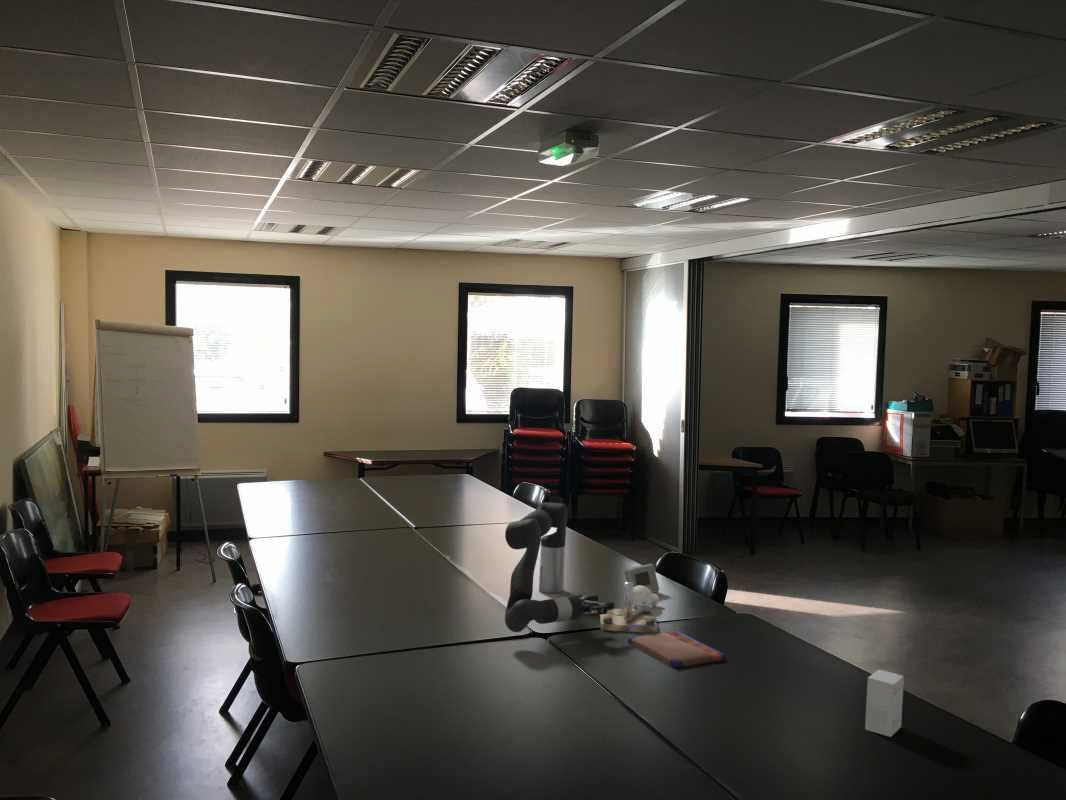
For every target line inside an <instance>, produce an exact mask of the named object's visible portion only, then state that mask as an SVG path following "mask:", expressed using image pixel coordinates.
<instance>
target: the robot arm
mask: <svg viewBox="0 0 1066 800" xmlns="http://www.w3.org/2000/svg"><path fill="white" fill-rule="evenodd" d="M567 523H568V506H567V505H566V504H565V503H562V502H561V503H560V502H549V501H548V502H543V503H541V504H540V505H539V506H538V507H537V508H536V509H535V510H533V511H531V512H530V513H528V514H527V515H525V516H524V517H522V518H521V519H519V520H516V521H512V522H509V524H507V526H506V529H505V533H504V537H505V542H506V543H507V545H508V547H509V548H511V549H512V550H523V549H525V552H524V554H523V556H522V557H521V559H520V560H519V561H518V562H517V564H516V566H515V567H514V569H513V570H512V573H511V577H510V585H509V586H510V587H509V596H508V597H509V598H508V601H507V604H506V608H505V614H504V623H505V625H506V627H507V628H508V630H510V631H511V632H513V633H519V632H522V631H523V630H525V629H526V627H528V625H529V624H530V623H531V622H532V621H535V623H537V624H540V625H543V624H551V623H561V622H568V621H573V620H578V619H580V618H581V617H582V616H583V614H590V616H592V617H594V616H599V615H602V614H607V610H613V609H615V602H613V601H610V602H605V603H603V602H601V603H600V602H599V596H598V595H597V594H593V595H583V594H572V595H564V596H557V597H554V598H550V599H543V600H537V599H532V597H533V591H534V587H533V586H534V576H535V568H536V564H537V560H538V557H540V558H539V559H540V560H539V561H540V562H539V577H538V578H539V581H538V592H539V593H540V592H542V593H546V594H560V593H563V592H564V589H565V588H564V586H565V585H564V584H565V563H566V562H565V561H566V559H565V558H566V555H565V554H566V540H567V539H566V538H567V525H568V524H567ZM552 528H555V529H556V530H555V532H553V533H551V534H548V533H549V532H550V530H551V529H552ZM539 551H540V556H539ZM594 605H595V606H594Z"/></svg>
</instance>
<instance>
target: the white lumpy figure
mask: <svg viewBox="0 0 1066 800" xmlns="http://www.w3.org/2000/svg"><path fill="white" fill-rule="evenodd" d="M659 601H660V598H659V596H658V595H657V593H652V592H651V591H650V590H649V589H648V588H647V587H645V586H642V585H638V586H636V587H634V588H633V605H632V607H634V608H636V609H637V606H639V605H643V604H645V606H650V605H651V606H650V607H656V606H657V605H658V603H659Z"/></svg>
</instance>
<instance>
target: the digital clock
mask: <svg viewBox="0 0 1066 800" xmlns="http://www.w3.org/2000/svg"><path fill="white" fill-rule="evenodd" d="M624 576H625V580H626V581H625V582H633V588H634V587H636V586H638V585H642V586H645V587H647V588H648V589H649V590H650V591H651V592H652V593H653V594H657V593H658V592H659V591H660V587H659V582H658V578H657V573H656V569H655V565H654V564H652V563H648V564H642V565H637V566H633V567H630V568H626V569H625V570H624Z"/></svg>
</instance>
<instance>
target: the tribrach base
mask: <svg viewBox="0 0 1066 800" xmlns="http://www.w3.org/2000/svg"><path fill="white" fill-rule="evenodd" d="M634 610H635V609H632V611H634ZM598 616H599V621H600V630H601V631H607V632H608V631H610V632H611V631H613V632H627V628H628V627H629V626H632V625H651V626H656V627H651V626H636V627H632V628H630V629H629V633H630V632H631V633H632V632H633V633H649V634H650V633H651V634H652V633H653V634H658V628H657V627H658V625H657V622H656V621H657V620H656V618H655V617H654V616H655V615H654V613H653V610H652V609H651V612H650V613H643V614H641V615H640V616H638V617H636V618H634V619H632V620H631V621H629V620H625V619H624V617H623V608H614V609H613V610H607V614H602V615H598Z"/></svg>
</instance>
